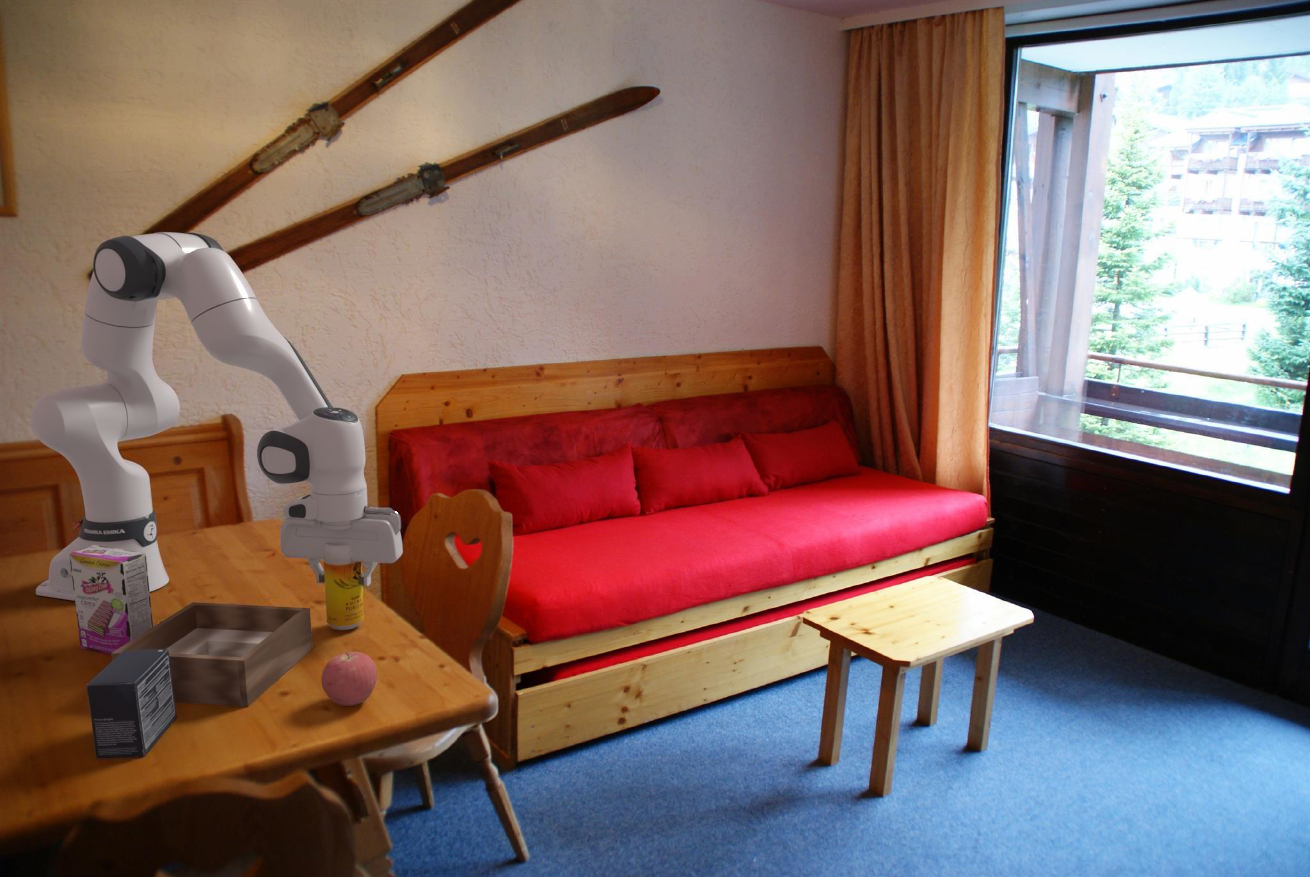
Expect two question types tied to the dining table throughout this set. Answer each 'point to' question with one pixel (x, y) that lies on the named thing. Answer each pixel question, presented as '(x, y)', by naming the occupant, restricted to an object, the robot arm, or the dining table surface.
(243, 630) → the wooden box
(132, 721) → the small box
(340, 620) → the beer can
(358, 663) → the apple
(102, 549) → the candy bar box
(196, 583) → the dining table surface
